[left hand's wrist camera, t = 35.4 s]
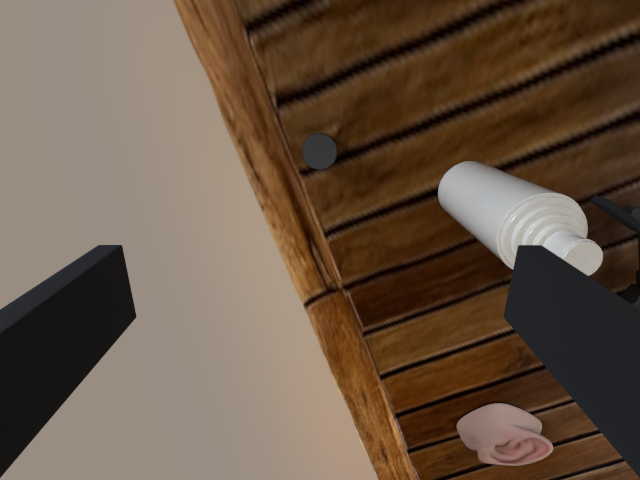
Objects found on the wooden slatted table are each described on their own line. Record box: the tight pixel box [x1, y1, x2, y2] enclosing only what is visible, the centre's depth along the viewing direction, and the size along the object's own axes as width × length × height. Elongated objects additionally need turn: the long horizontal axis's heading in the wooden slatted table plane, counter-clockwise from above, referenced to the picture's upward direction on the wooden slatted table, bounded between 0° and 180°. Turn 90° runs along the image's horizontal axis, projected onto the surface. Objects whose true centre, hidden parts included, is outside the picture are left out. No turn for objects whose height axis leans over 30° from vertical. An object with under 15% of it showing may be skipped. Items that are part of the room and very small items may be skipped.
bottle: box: [438, 161, 603, 276], centre depth 37 cm, size 7×7×22 cm
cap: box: [303, 133, 337, 169], centre depth 45 cm, size 4×4×2 cm
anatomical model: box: [457, 403, 553, 466], centre depth 60 cm, size 13×4×12 cm
